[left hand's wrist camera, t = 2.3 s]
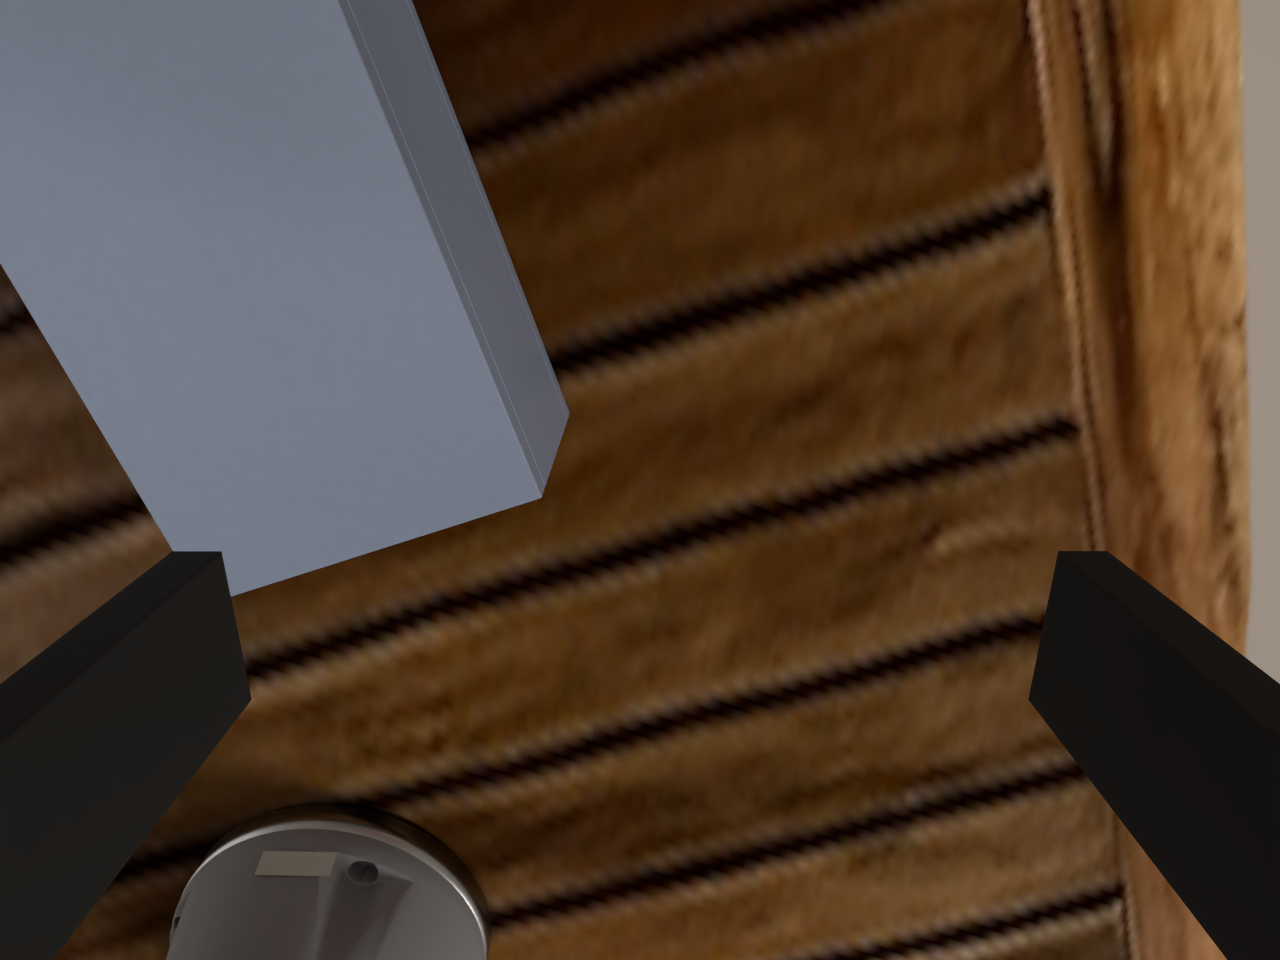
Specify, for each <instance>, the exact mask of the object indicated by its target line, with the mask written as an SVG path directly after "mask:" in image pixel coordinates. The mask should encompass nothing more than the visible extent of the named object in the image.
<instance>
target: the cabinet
mask: <svg viewBox="0 0 1280 960" xmlns="http://www.w3.org/2000/svg"><path fill="white" fill-rule="evenodd" d="M0 264H1V265H2V267H3V269H4V270H5V272H6V274H7V275H8V277H9V279H10V280H11V282H12V284H13V285H14V287H15V289H16V290H17V292H18V294H19V295H20V297H21V299H22V300H23V302H24V304H25V305H26V307H27V309H28V310H29V312H30V314H31V315H32V317H33V319H34V320H35V322H36V324H37V325H38V327H39V329H40V330H41V332H42V334H43V335H44V337H45V339H46V340H47V342H48V344H49V345H50V347H51V349H52V350H53V352H54V354H55V355H56V357H57V359H58V360H59V362H60V364H61V365H62V367H63V369H64V370H65V372H66V374H67V375H68V377H69V379H70V380H71V382H72V384H73V385H74V387H75V389H76V390H77V392H78V394H79V395H80V397H81V399H82V400H83V402H84V404H85V405H86V407H87V409H88V410H89V412H90V414H91V415H92V417H93V419H94V420H95V422H96V424H97V425H98V427H99V429H100V430H101V432H102V434H103V435H104V437H105V439H106V440H107V442H108V444H109V445H110V447H111V449H112V450H113V452H114V454H115V455H116V457H117V459H118V460H119V462H120V464H121V465H122V467H123V469H124V470H125V472H126V474H127V475H128V477H129V479H130V480H131V482H132V484H133V485H134V487H135V489H136V490H137V492H138V494H139V495H140V497H141V499H142V500H143V502H144V504H145V505H146V507H147V509H148V510H149V512H150V514H151V515H152V517H153V519H154V520H155V522H156V524H157V525H158V527H159V529H160V530H161V532H162V534H163V535H164V537H165V539H166V540H167V542H168V543H169V545H170V547H171V548H172V550H173V551H222V556H223V561H224V566H225V571H226V576H227V581H228V586H229V591H230V596H234V595H237V594H240V593H244V592H247V591H250V590H253V589H256V588H259V587H262V586H266V585H269V584H272V583H275V582H278V581H281V580H285V579H288V578H291V577H294V576H297V575H300V574H303V573H307V572H310V571H313V570H316V569H319V568H322V567H325V566H329V565H332V564H335V563H338V562H341V561H344V560H348V559H351V558H354V557H357V556H360V555H363V554H366V553H370V552H373V551H376V550H379V549H382V548H385V547H388V546H392V545H395V544H398V543H401V542H404V541H407V540H410V539H414V538H417V537H420V536H423V535H426V534H429V533H433V532H436V531H439V530H442V529H445V528H448V527H451V526H455V525H458V524H461V523H464V522H467V521H470V520H473V519H477V518H480V517H483V516H486V515H489V514H492V513H496V512H499V511H502V510H505V509H508V508H511V507H514V506H518V505H521V504H524V503H527V502H530V501H533V500H536V499H540V498H541V497H542V494H543V491H544V488H545V485H546V482H547V479H548V476H549V473H550V470H551V467H552V464H553V462H554V459H555V456H556V453H557V450H558V447H559V444H560V441H561V438H562V435H563V432H564V429H565V426H566V423H567V419H568V417H569V410H568V407H567V405H566V402H565V400H564V397H563V394H562V392H561V389H560V387H559V384H558V381H557V379H556V376H555V373H554V371H553V368H552V366H551V363H550V360H549V358H548V355H547V353H546V350H545V347H544V345H543V342H542V339H541V337H540V334H539V332H538V329H537V326H536V324H535V321H534V319H533V316H532V313H531V311H530V308H529V305H528V303H527V300H526V298H525V295H524V292H523V290H522V287H521V285H520V282H519V279H518V277H517V274H516V271H515V269H514V266H513V264H512V261H511V258H510V256H509V253H508V251H507V248H506V245H505V243H504V240H503V237H502V235H501V232H500V230H499V227H498V224H497V222H496V219H495V217H494V214H493V211H492V209H491V206H490V203H489V201H488V198H487V196H486V193H485V190H484V188H483V185H482V183H481V180H480V177H479V175H478V172H477V169H476V167H475V164H474V162H473V159H472V156H471V154H470V151H469V149H468V146H467V143H466V141H465V138H464V135H463V133H462V130H461V128H460V125H459V122H458V120H457V117H456V115H455V112H454V109H453V107H452V104H451V101H450V99H449V96H448V94H447V91H446V88H445V86H444V83H443V81H442V78H441V75H440V73H439V70H438V67H437V65H436V62H435V60H434V57H433V54H432V52H431V49H430V47H429V44H428V41H427V39H426V36H425V33H424V31H423V28H422V26H421V23H420V20H419V18H418V15H417V13H416V10H415V7H414V5H413V2H412V0H0Z"/></svg>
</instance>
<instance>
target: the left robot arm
mask: <svg viewBox="0 0 1280 960" xmlns="http://www.w3.org/2000/svg"><path fill="white" fill-rule="evenodd" d="M250 701H251V694H250V689H249V685H248V680H247V675H246V670H245V665H244V660H243V655H242V650H241V645H240V640H239V635H238V630H237V625H236V620H235V615H234V610H233V605H232V600H231V596H230V591H229V586H228V581H227V576H226V571H225V566H224V561H223V556H222V551H172V552H171V553H170V554H169V555H167V556H166V557H165V558H163V559H162V560H161V561H160V562H158V563H157V564H156V565H154V566H153V567H152V568H150V569H149V570H148V571H147V572H145V573H144V574H143V575H141V576H140V577H139V578H137V579H136V580H135V581H134V582H132V583H131V584H130V585H128V586H127V587H126V588H124V589H123V590H122V591H121V592H119V593H118V594H117V595H115V596H114V597H113V598H111V599H110V600H109V601H108V602H106V603H105V604H104V605H102V606H101V607H100V608H98V609H97V610H96V611H95V612H93V613H92V614H91V615H89V616H88V617H87V618H86V619H84V620H83V621H82V622H80V623H79V624H78V625H76V626H75V627H74V628H73V629H71V630H70V631H69V632H67V633H66V634H65V635H63V636H62V637H61V638H60V639H58V640H57V641H56V642H54V643H53V644H52V645H50V646H49V647H48V648H47V649H45V650H44V651H43V652H41V653H40V654H39V655H37V656H36V657H35V658H34V659H32V660H31V661H30V662H28V663H27V664H26V665H25V666H23V667H22V668H21V669H19V670H18V671H17V672H15V673H14V674H13V675H12V676H10V677H9V678H8V679H6V680H5V681H4V682H2V683H1V684H0V960H53V958H54V957H55V956H56V954H57V953H58V952H59V951H60V949H61V948H62V947H63V945H64V944H65V943H66V941H67V940H68V939H69V937H70V936H71V935H72V934H73V932H74V931H75V930H76V928H77V927H78V926H79V924H80V923H81V922H82V920H83V919H84V918H85V917H86V915H87V914H88V913H89V911H90V910H91V909H92V907H93V906H94V905H95V903H96V902H97V901H98V900H99V898H100V897H101V896H102V894H103V893H104V892H105V890H106V889H107V888H108V886H109V885H110V884H111V883H112V881H113V880H114V879H115V877H116V876H117V875H118V873H119V872H120V871H121V869H122V868H123V867H124V866H125V864H126V863H127V862H128V860H129V859H130V858H131V856H132V855H133V854H134V852H135V851H136V850H137V849H138V847H139V846H140V845H141V843H142V842H143V841H144V839H145V838H146V837H147V835H148V834H149V833H150V832H151V830H152V829H153V828H154V826H155V825H156V824H157V822H158V821H159V820H160V818H161V817H162V816H163V815H164V813H165V812H166V811H167V809H168V808H169V807H170V805H171V804H172V803H173V801H174V800H175V799H176V798H177V796H178V795H179V794H180V792H181V791H182V790H183V788H184V787H185V786H186V784H187V783H188V782H189V781H190V779H191V778H192V777H193V775H194V774H195V773H196V771H197V770H198V769H199V767H200V766H201V765H202V764H203V762H204V761H205V760H206V758H207V757H208V756H209V754H210V753H211V752H212V750H213V749H214V748H215V747H216V745H217V744H218V743H219V741H220V740H221V739H222V737H223V736H224V735H225V733H226V732H227V731H228V730H229V728H230V727H231V726H232V724H233V723H234V722H235V720H236V719H237V718H238V716H239V715H240V714H241V713H242V711H243V710H244V709H245V707H246V706H247V705H248V703H249V702H250ZM1029 701H1030V702H1031V703H1032V705H1033V706H1034V707H1035V709H1036V710H1037V711H1038V713H1039V714H1040V715H1041V716H1042V718H1043V719H1044V720H1045V722H1046V723H1047V724H1048V726H1049V727H1050V728H1051V730H1052V731H1053V732H1054V733H1055V735H1056V736H1057V737H1058V739H1059V740H1060V741H1061V743H1062V744H1063V745H1064V747H1065V748H1066V749H1067V750H1068V752H1069V753H1070V754H1071V756H1072V757H1073V758H1074V760H1075V761H1076V762H1077V764H1078V765H1079V766H1080V767H1081V769H1082V770H1083V771H1084V773H1085V774H1086V775H1087V777H1088V778H1089V779H1090V781H1091V782H1092V783H1093V784H1094V786H1095V787H1096V788H1097V790H1098V791H1099V792H1100V794H1101V795H1102V796H1103V798H1104V799H1105V800H1106V801H1107V803H1108V804H1109V805H1110V807H1111V808H1112V809H1113V811H1114V812H1115V813H1116V815H1117V816H1118V817H1119V818H1120V820H1121V821H1122V822H1123V824H1124V825H1125V826H1126V828H1127V829H1128V830H1129V832H1130V833H1131V834H1132V835H1133V837H1134V838H1135V839H1136V841H1137V842H1138V843H1139V845H1140V846H1141V847H1142V849H1143V850H1144V851H1145V852H1146V854H1147V855H1148V856H1149V858H1150V859H1151V860H1152V862H1153V863H1154V864H1155V866H1156V867H1157V868H1158V869H1159V871H1160V872H1161V873H1162V875H1163V876H1164V877H1165V879H1166V880H1167V881H1168V883H1169V884H1170V885H1171V886H1172V888H1173V889H1174V890H1175V892H1176V893H1177V894H1178V896H1179V897H1180V898H1181V900H1182V901H1183V902H1184V903H1185V905H1186V906H1187V907H1188V909H1189V910H1190V911H1191V913H1192V914H1193V915H1194V917H1195V918H1196V919H1197V920H1198V922H1199V923H1200V924H1201V926H1202V927H1203V928H1204V930H1205V931H1206V932H1207V934H1208V935H1209V936H1210V937H1211V939H1212V940H1213V941H1214V943H1215V944H1216V945H1217V947H1218V948H1219V949H1220V951H1221V952H1222V953H1223V954H1224V956H1225V957H1226V958H1227V960H1280V684H1279V683H1278V682H1276V681H1275V680H1274V679H1272V678H1271V677H1270V676H1268V675H1267V674H1266V673H1265V672H1263V671H1262V670H1261V669H1259V668H1258V667H1257V666H1255V665H1254V664H1253V663H1251V662H1250V661H1249V660H1248V659H1246V658H1245V657H1244V656H1243V655H1241V654H1240V653H1239V652H1237V651H1236V650H1235V649H1233V648H1232V647H1231V646H1230V645H1228V644H1227V643H1226V642H1224V641H1223V640H1222V639H1220V638H1219V637H1218V636H1217V635H1215V634H1214V633H1213V632H1211V631H1210V630H1209V629H1207V628H1206V627H1205V626H1204V625H1202V624H1201V623H1200V622H1198V621H1197V620H1196V619H1194V618H1193V617H1192V616H1191V615H1189V614H1188V613H1187V612H1185V611H1184V610H1183V609H1182V608H1180V607H1179V606H1178V605H1176V604H1175V603H1174V602H1172V601H1171V600H1170V599H1169V598H1167V597H1166V596H1165V595H1163V594H1162V593H1161V592H1159V591H1158V590H1157V589H1156V588H1154V587H1153V586H1152V585H1150V584H1149V583H1148V582H1146V581H1145V580H1144V579H1143V578H1141V577H1140V576H1139V575H1137V574H1136V573H1135V572H1133V571H1132V570H1131V569H1130V568H1128V567H1127V566H1126V565H1124V564H1123V563H1122V562H1120V561H1119V560H1118V559H1117V558H1115V557H1114V556H1113V555H1111V554H1110V553H1109V552H1108V551H1058V556H1057V561H1056V566H1055V571H1054V576H1053V581H1052V586H1051V591H1050V596H1049V600H1048V605H1047V610H1046V615H1045V620H1044V625H1043V630H1042V635H1041V640H1040V645H1039V650H1038V655H1037V660H1036V665H1035V670H1034V675H1033V680H1032V685H1031V689H1030V694H1029ZM490 941H491V920H490V913H489V910H488V906H487V903H486V900H485V898H484V895H483V893H482V891H481V889H480V887H479V885H478V883H477V882H476V880H475V879H474V877H473V876H472V874H471V873H470V871H469V870H468V869H467V868H466V867H465V866H464V864H463V863H462V862H461V861H460V860H459V859H458V858H457V857H456V856H455V855H454V854H453V853H452V852H451V851H449V850H448V849H447V848H446V847H444V846H443V845H442V844H441V843H439V842H438V841H436V840H435V839H433V838H432V837H431V836H429V835H427V834H426V833H424V832H422V831H420V830H419V829H417V828H415V827H413V826H411V825H409V824H406V823H404V822H402V821H400V820H397V819H394V818H392V817H389V816H386V815H383V814H379V813H376V812H372V811H368V810H363V809H359V808H353V807H345V806H335V805H307V806H297V807H290V808H285V809H279V810H276V811H272V812H269V813H265V814H263V815H260V816H257V817H255V818H252V819H250V820H248V821H246V822H244V823H242V824H240V825H239V826H237V827H236V828H234V829H232V830H231V831H229V832H228V833H227V834H226V835H224V836H223V837H222V838H221V839H220V840H219V841H218V842H217V843H216V844H215V845H214V846H213V847H212V848H211V849H210V851H209V852H208V853H207V855H206V856H205V857H204V859H203V860H202V862H201V863H200V865H199V866H198V868H197V870H196V871H195V873H194V874H193V876H192V877H191V879H190V880H189V882H188V884H187V885H186V887H185V889H184V891H183V894H182V896H181V899H180V901H179V904H178V906H177V908H176V911H175V914H174V917H173V923H172V927H171V931H170V939H169V952H168V955H167V958H166V960H487V958H488V953H489V948H490Z"/></svg>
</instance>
